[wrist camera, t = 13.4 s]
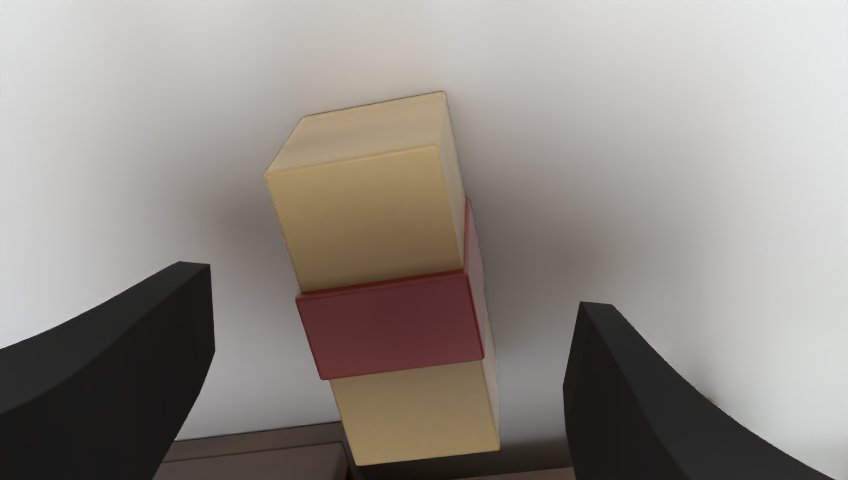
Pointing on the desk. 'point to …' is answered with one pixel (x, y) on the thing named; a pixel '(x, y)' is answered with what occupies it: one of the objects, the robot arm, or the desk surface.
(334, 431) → the cabinet
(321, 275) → the box with red band
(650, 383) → the robot arm
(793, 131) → the desk surface
